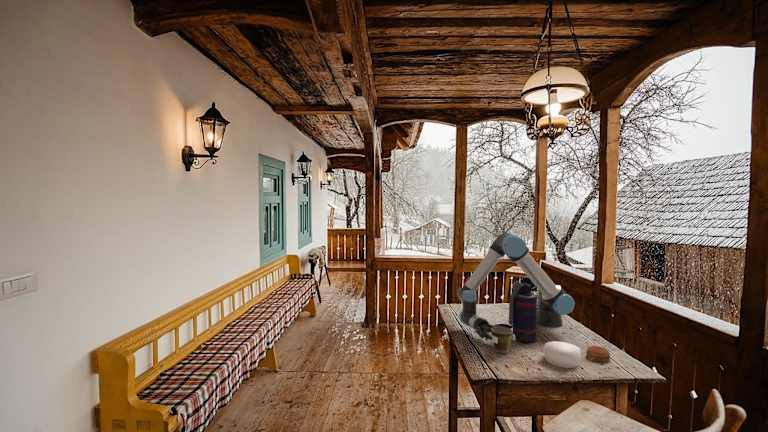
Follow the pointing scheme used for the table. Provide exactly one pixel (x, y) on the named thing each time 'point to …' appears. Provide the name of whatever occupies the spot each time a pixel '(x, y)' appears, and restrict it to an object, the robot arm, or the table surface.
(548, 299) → the robot arm
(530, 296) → the grenade
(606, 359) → the burger
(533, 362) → the table surface
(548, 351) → the plinth
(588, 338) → the table surface
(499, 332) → the ceramic cup
